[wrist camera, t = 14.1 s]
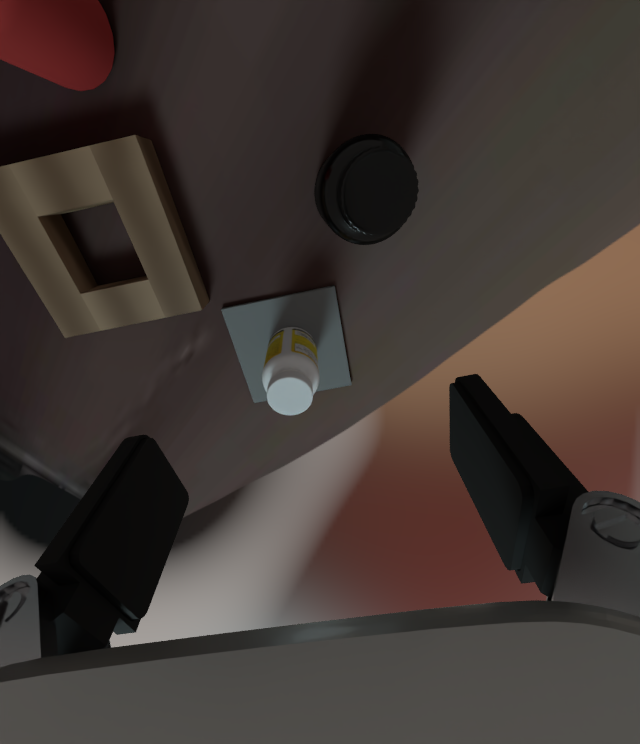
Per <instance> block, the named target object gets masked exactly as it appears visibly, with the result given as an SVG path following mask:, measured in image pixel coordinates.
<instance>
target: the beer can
mask: <svg viewBox="0 0 640 744" xmlns="http://www.w3.org/2000/svg"><path fill="white" fill-rule="evenodd" d="M114 54H115V53H114V42H113V34H112V30H111V27H110V24H109V21H108V18H107V15H106V13H105V11H104V10H103V8H102V6H101V4H100V3H99V1H98V0H0V59H1V60H3V61H5V62H8V63H10V64H12V65H15V66H17V67H19V68H22V69H24V70H26V71H29V72H31V73H33V74H35V75H38V76H40V77H42V78H45V79H47V80H49V81H52V82H54V83H56V84H59V85H61V86H63V87H66V88H69V89H74V90H78V91H84V90H90V89H94V88H96V87H97V86H99V85H100V84H101V83H103V82H104V81H105V80H106V78H107V76H108V75H109V73H110V71H111V69H112V65H113V59H114Z"/></svg>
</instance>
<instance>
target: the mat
mask: <svg viewBox="0 0 640 744" xmlns="http://www.w3.org/2000/svg"><path fill="white" fill-rule="evenodd" d="M221 310H222V313H223V316H224V319H225V322H226V324H227V327H228V330H229V333H230V336H231V339H232V342H233V344H234V347H235V350H236V353H237V356H238V359H239V361H240V364H241V367H242V370H243V373H244V376H245V378H246V381H247V384H248V387H249V390H250V393H251V396H252V398H253V401H254V403H257V402H262V401H268V400H267V392H266V391H265V388H264V386H263V382H262V373H263V368H264V363H265V359H266V354H267V348H268V344H269V341H270V339H271V337H272V336H273V335H274V334H275V333H276V332H277V331H279V330H281V329H283V328H287V327H297V328H301V329H303V330H305V331H306V332H308V333H309V334H310V335H311V336H312V338H313V339H314V341H315V344H316V348H317V358H318V368H319V385H318V388H317V390H316V391H321V390H327V389H332V388H337V387H343V386H348V385H351V379H350V374H349V368H348V362H347V356H346V350H345V344H344V338H343V333H342V327H341V321H340V315H339V309H338V303H337V297H336V292H335V286H334V285H333V286H328V287H324V288H319V289H314V290H309V291H304V292H299V293H294V294H289V295H284V296H279V297H274V298H269V299H265V300H260V301H255V302H250V303H245V304H240V305H235V306H230V307H225V308H222V309H221Z"/></svg>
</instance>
